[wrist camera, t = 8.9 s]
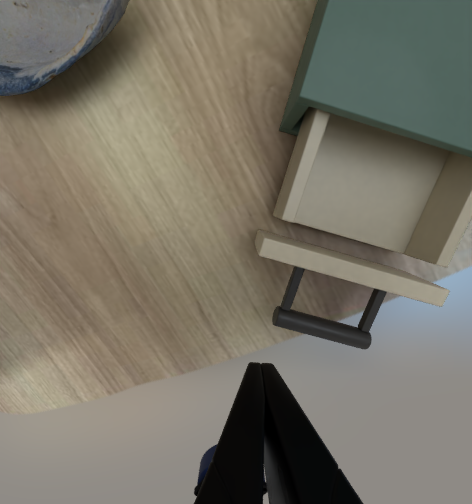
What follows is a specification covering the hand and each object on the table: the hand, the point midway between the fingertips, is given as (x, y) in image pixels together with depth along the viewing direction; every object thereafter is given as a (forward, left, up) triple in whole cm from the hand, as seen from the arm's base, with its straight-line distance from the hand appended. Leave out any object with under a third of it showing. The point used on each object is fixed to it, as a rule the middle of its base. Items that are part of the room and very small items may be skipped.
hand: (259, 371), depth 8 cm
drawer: (-2, -10, -11) cm, 15 cm away
